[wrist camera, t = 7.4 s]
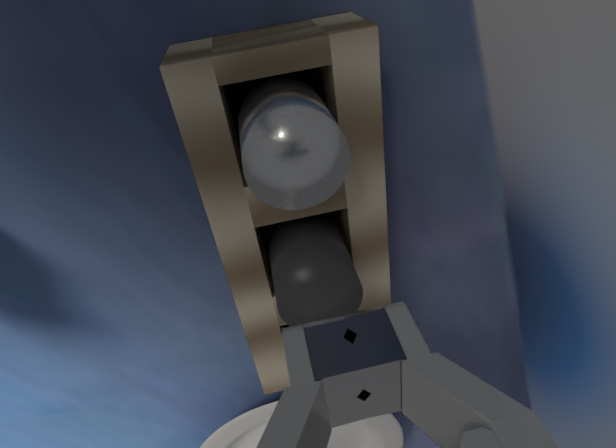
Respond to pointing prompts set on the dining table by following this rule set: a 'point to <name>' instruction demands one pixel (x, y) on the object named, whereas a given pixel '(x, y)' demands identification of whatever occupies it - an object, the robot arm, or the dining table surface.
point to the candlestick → (343, 440)
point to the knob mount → (229, 173)
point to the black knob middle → (312, 271)
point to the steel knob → (291, 145)
